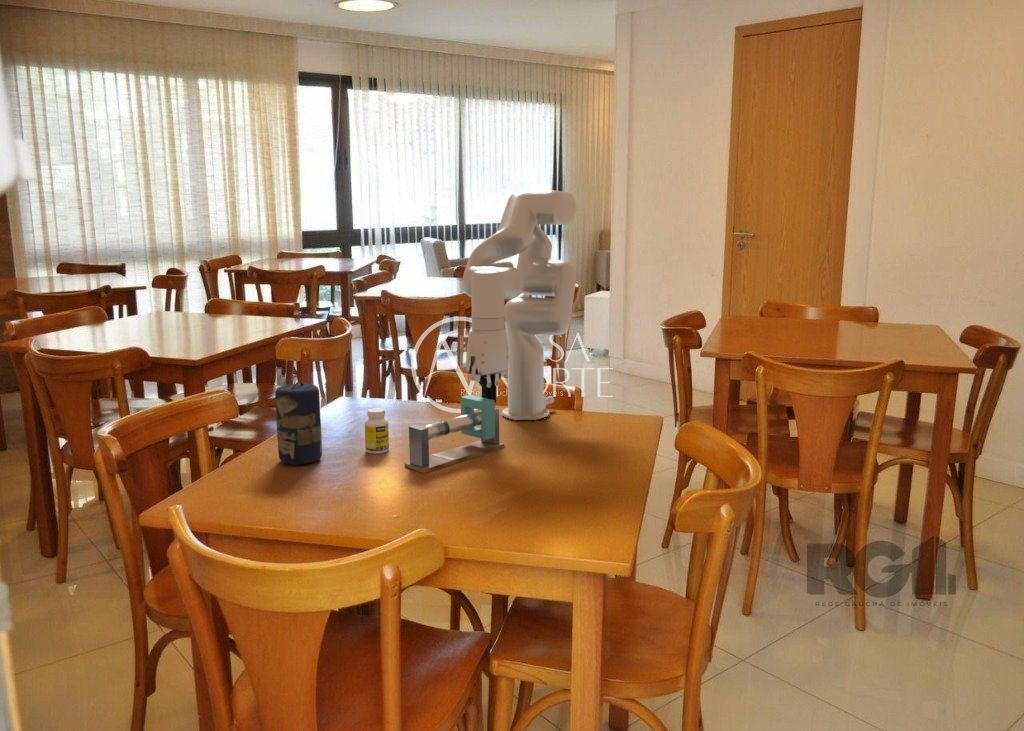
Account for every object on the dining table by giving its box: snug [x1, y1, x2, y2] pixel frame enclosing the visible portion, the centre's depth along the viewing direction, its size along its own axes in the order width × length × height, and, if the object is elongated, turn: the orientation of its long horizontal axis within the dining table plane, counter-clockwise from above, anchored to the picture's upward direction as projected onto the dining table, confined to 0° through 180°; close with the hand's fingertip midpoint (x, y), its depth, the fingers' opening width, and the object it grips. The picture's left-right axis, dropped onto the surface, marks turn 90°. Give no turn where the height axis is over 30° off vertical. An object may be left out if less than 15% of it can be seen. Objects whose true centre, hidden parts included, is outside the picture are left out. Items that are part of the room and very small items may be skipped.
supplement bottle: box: [364, 407, 390, 455], centre depth 195 cm, size 5×5×10 cm
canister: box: [274, 381, 323, 465], centre depth 187 cm, size 10×10×18 cm
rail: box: [408, 407, 500, 468], centre depth 190 cm, size 24×4×9 cm, turn 137°
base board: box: [404, 439, 506, 474], centre depth 191 cm, size 25×6×1 cm, turn 137°
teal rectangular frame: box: [460, 394, 496, 440], centre depth 195 cm, size 3×8×9 cm, turn 47°
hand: (489, 402), depth 197 cm, fingers closed
